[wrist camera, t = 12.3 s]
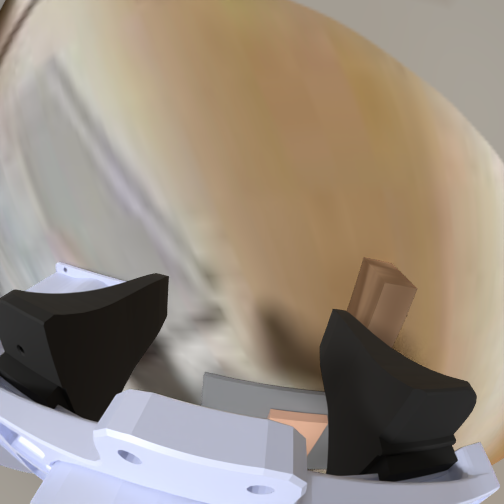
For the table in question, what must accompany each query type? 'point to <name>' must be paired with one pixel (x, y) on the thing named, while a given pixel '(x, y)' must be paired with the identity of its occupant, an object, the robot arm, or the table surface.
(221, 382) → the mat
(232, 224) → the table surface
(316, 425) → the tile
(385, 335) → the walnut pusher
